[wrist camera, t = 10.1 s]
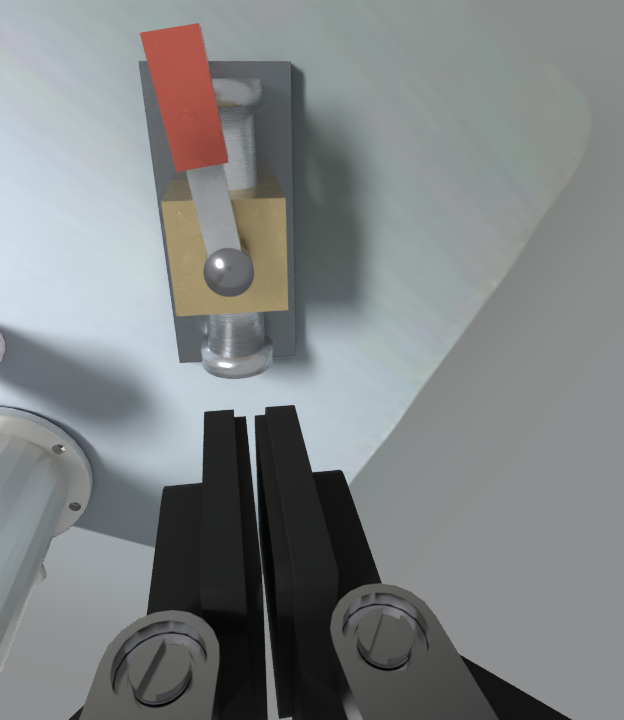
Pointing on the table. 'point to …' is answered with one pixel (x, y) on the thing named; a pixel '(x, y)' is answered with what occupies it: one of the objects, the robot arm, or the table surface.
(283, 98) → the valve
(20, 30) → the table surface
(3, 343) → the smoothie
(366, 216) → the table surface
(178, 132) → the valve lever
